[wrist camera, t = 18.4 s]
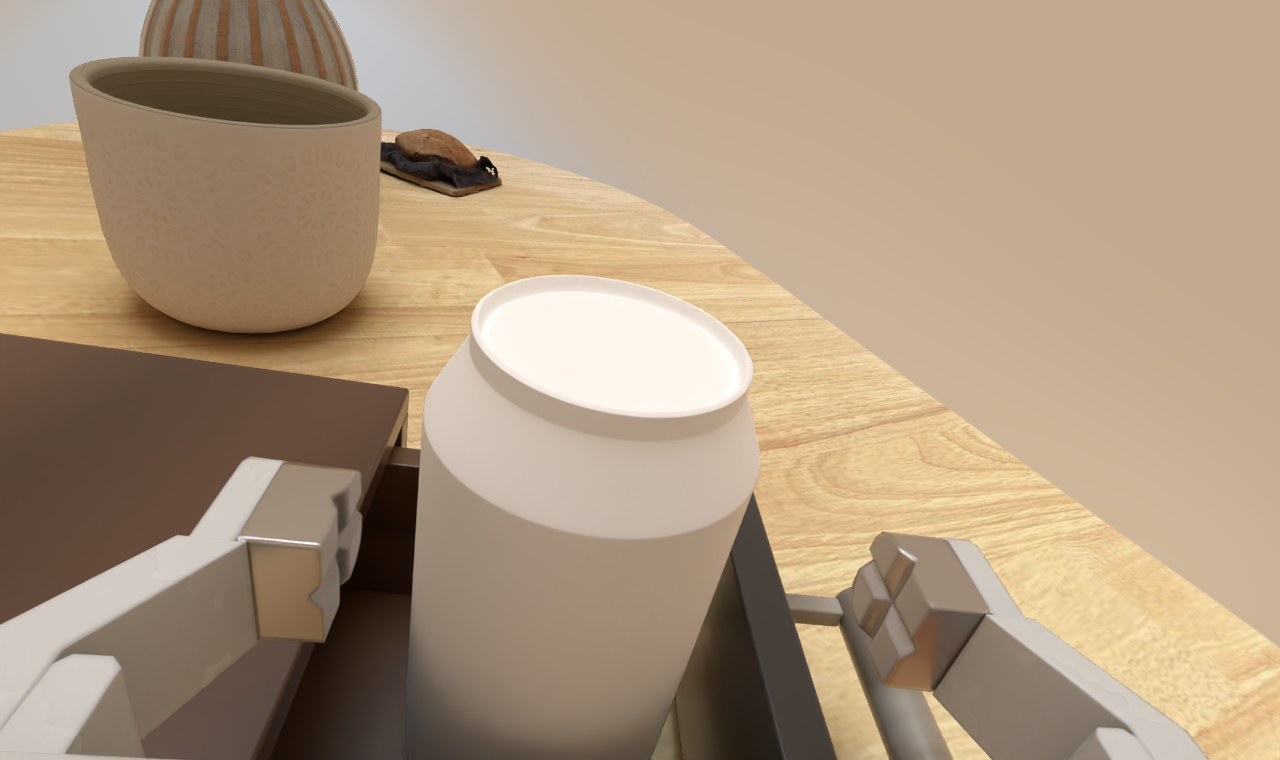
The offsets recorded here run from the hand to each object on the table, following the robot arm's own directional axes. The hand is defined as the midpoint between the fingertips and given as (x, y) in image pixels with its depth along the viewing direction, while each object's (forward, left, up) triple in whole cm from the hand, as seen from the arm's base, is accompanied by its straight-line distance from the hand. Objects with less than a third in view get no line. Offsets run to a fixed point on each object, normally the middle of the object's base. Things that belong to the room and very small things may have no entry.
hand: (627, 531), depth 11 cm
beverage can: (+3, +1, -10) cm, 10 cm away
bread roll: (+57, +13, -12) cm, 59 cm away
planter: (+28, +17, -12) cm, 35 cm away
